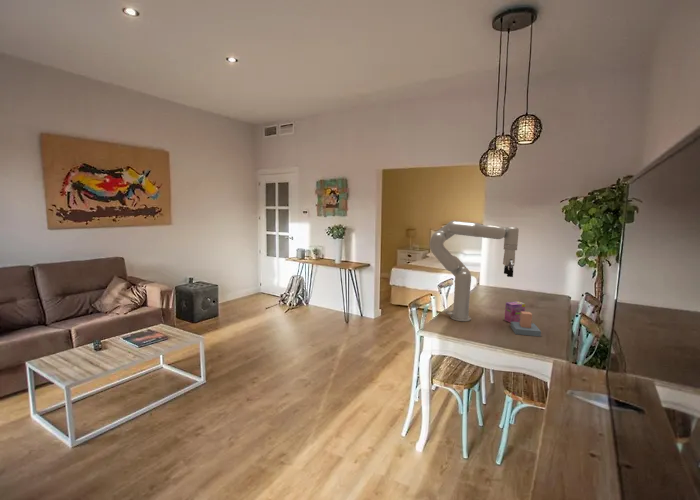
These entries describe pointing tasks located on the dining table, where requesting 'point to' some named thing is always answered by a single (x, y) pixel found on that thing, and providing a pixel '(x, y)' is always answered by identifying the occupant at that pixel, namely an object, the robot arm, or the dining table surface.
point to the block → (525, 319)
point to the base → (525, 329)
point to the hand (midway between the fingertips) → (508, 275)
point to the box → (513, 311)
